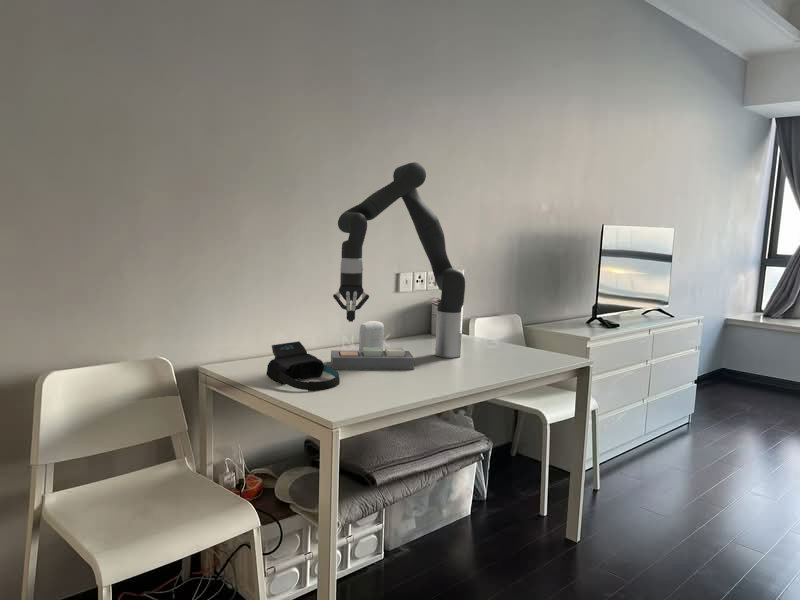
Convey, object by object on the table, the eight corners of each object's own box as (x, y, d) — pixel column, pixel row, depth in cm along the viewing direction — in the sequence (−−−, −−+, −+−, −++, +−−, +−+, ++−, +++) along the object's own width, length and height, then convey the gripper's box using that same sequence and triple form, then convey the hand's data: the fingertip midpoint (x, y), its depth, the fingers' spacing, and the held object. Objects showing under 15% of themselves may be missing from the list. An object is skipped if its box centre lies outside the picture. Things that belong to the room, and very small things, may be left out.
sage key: (379, 355, 223) (379, 347, 223) (381, 358, 217) (381, 351, 217) (362, 355, 222) (362, 347, 222) (364, 358, 216) (364, 350, 216)
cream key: (401, 355, 225) (401, 347, 224) (404, 359, 219) (404, 351, 218) (385, 355, 224) (385, 347, 223) (387, 359, 218) (387, 351, 217)
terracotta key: (356, 359, 222) (357, 351, 222) (358, 363, 216) (358, 355, 216) (339, 359, 221) (340, 351, 221) (340, 363, 215) (341, 355, 215)
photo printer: (377, 350, 246) (378, 319, 245) (384, 352, 243) (385, 320, 242) (357, 353, 239) (358, 321, 238) (364, 355, 236) (365, 323, 235)
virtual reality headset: (303, 368, 209) (307, 339, 207) (349, 391, 195) (354, 361, 193) (257, 376, 194) (261, 346, 192) (304, 402, 181) (308, 370, 179)
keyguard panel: (408, 361, 228) (408, 350, 228) (413, 369, 217) (414, 358, 216) (330, 361, 224) (331, 350, 223) (332, 369, 212) (332, 357, 212)
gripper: (369, 270, 219) (368, 319, 222) (331, 270, 217) (330, 319, 220) (372, 272, 212) (370, 323, 214) (332, 272, 210) (331, 323, 212)
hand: (350, 321), depth 217 cm, fingers closed
